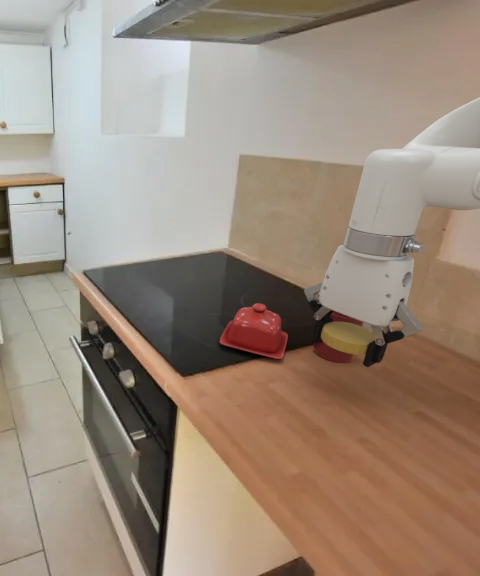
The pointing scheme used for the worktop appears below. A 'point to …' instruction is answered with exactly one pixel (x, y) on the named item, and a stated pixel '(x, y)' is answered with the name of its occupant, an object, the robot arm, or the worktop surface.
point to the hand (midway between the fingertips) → (344, 351)
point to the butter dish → (256, 332)
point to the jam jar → (330, 352)
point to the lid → (347, 337)
